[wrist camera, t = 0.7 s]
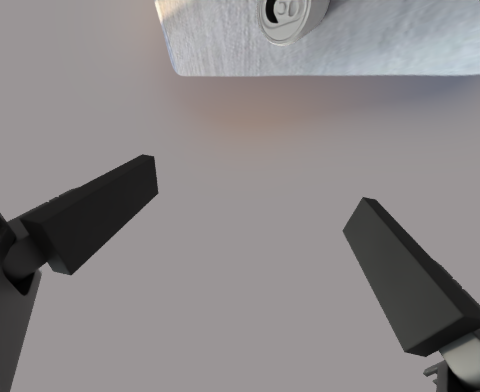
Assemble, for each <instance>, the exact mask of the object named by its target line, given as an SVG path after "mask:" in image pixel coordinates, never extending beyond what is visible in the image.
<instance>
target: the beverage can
mask: <svg viewBox="0 0 480 392" xmlns="http://www.w3.org/2000/svg"><path fill="white" fill-rule="evenodd" d="M329 1H330V0H257V20H258V24H259V27H260V30H261V32H262V33H263V35H264V36H265V37H266V38H267V40H268V41H270V42H271V43H272V44H274V45H277V46H287V45H290V44H293V43H295V42H296V41H298V40H299V39H300V38H302V37H303V36H305V35H306V34H308V33H309V32H311V31H312V30H313V29H315V28H316V27H317V26H318V25H319V23H320V22H321V21H322V19H323V18H324V16H325V14H326V11H327V9H328V6H329Z"/></svg>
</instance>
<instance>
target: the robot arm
mask: <svg viewBox="0 0 480 392" xmlns="http://www.w3.org/2000/svg"><path fill="white" fill-rule="evenodd" d="M157 194H158V186H157V177H156V169H155V160H154V156H148V155H141V156H138V157H137V158H135V159H133V160H131V161H129V162H127V163H125V164H123V165H121V166H119V167H117V168H115V169H113V170H112V171H110V172H108V173H106V174H104V175H102V176H100V177H98V178H96V179H94V180H92V181H90V182H89V183H87V184H85V185H83V186H81V187H78V188H75V189H71V190H69V191H67V192H65V193H63V194H61V195H59V197H55V198H53V199H52V200H50V201H49V202H46V203H44V204H42V205H40V206H38V207H36V208H34V209H32V210H30V211H28V212H26V213H24V214H22V215H20V216H18V217H16V218H14V219H12V220H10V221H8V222H6V220H5V219H4V218H3V216H2V215H1V213H0V392H10V389H11V385H12V382H13V378H14V375H15V371H16V367H17V363H18V360H19V356H20V352H21V348H22V345H23V341H24V337H25V334H26V331H27V327H28V323H29V319H30V316H31V312H32V309H33V305H34V301H35V298H36V294H37V290H38V287H39V283H40V279H41V275H42V273H41V270H40V267H41V266H42V265H44V264H45V263H46V262H48V264H49V265H50V267H51V268H52V270H53V271H54V272H59V273H63V274H67V275H72V274H73V273H74V272H75V271H76V270H78V269H79V268H80V267H81V266H82V265H83V264H84V263H85V262H86V261H87V260H88V259H89V258H90V257H91V256H92V255H93V254H94V253H95V252H97V251H98V250H99V249H100V248H101V247H102V246H103V245H104V244H105V243H106V242H107V241H108V240H109V239H110V238H111V237H112V236H114V235H115V234H116V233H117V232H118V231H119V230H120V229H121V228H122V227H123V226H124V225H125V224H126V223H127V222H128V221H129V220H131V219H132V218H133V217H134V216H135V215H136V214H137V213H138V212H139V211H140V210H141V209H142V208H143V207H144V206H145V205H146V204H147V203H149V202H150V201H151V200H152V199H153V198H154V197H155V196H156V195H157ZM343 233H344V235H345V237H346V238H347V241H348V242H349V244H350V246H351V248H352V250H353V252H354V254H355V256H356V258H357V260H358V262H359V264H360V266H361V268H362V270H363V272H364V274H365V276H366V278H367V279H368V282H369V283H370V286H371V287H372V289H373V291H374V293H375V295H376V297H377V299H378V301H379V303H380V305H381V307H382V309H383V311H384V313H385V315H386V317H387V319H388V320H389V323H390V325H391V326H392V329H393V331H394V332H395V334H396V336H397V338H398V340H399V342H400V344H401V346H402V348H403V350H404V352H407V353H411V354H415V355H420V356H424V357H427V356H428V355H430V354H432V353H434V352H436V351H438V350H439V352H440V353H441V355H442V356H443V358H444V359H445V360H444V361H442V362H440V363H438V364H436V365H434V366H431V367H429V368H427V369H426V370H425V371H424V373H423V374H424V375H425V376H427V377H428V376H430V375H432V374H434V373H436V374H438V375H437V379H435V380H433V382H434V383H435V384H436V385H437V390H436V392H480V305H479V304H478V303H477V302H476V301H475V300H474V299H473V298H472V297H471V296H470V295H469V294H468V293H467V292H466V291H465V290H464V289H462V286H460V285H459V283H458V282H457V281H456V280H454V279H452V278H453V277H452V276H451V275H450V274H449V273H448V272H447V271H446V270H445V269H444V268H443V267H442V266H441V265H440V264H438V263H437V262H436V261H434V260H433V259H432V258H431V257H430V256H429V255H428V254H427V253H426V252H425V251H424V250H423V249H422V248H421V247H420V246H419V245H418V243H416V241H415V240H414V239H413V238H412V237H411V236H410V235H409V234H408V233H407V232H406V231H405V230H404V229H403V228H402V227H401V226H400V225H399V224H398V222H396V220H394V218H393V217H392V216H391V215H390V214H389V213H388V212H387V211H386V210H385V209H384V208H383V207H382V206H381V205H380V204H379V203H378V201H377V200H375V199H369V198H365V197H363V198H362V199H361V201H360V203H359V204H358V206H357V208H356V210H355V211H354V213H353V214H352V216H351V218H350V219H349V221H348V223H347V224H346V226H345V228H344V229H343Z"/></svg>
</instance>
